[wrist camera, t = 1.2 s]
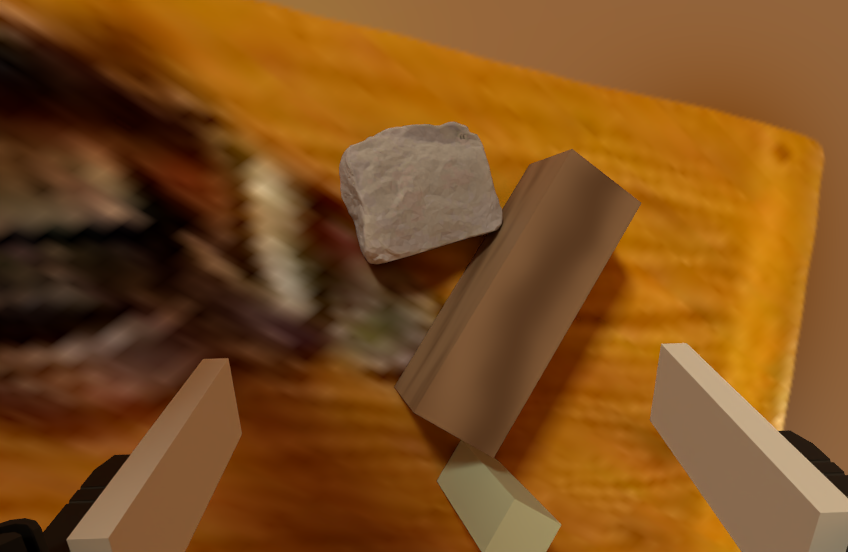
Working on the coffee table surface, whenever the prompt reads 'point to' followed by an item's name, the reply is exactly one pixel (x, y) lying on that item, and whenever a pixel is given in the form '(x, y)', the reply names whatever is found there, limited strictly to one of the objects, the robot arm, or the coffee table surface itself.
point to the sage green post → (495, 504)
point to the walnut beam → (517, 300)
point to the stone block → (418, 190)
